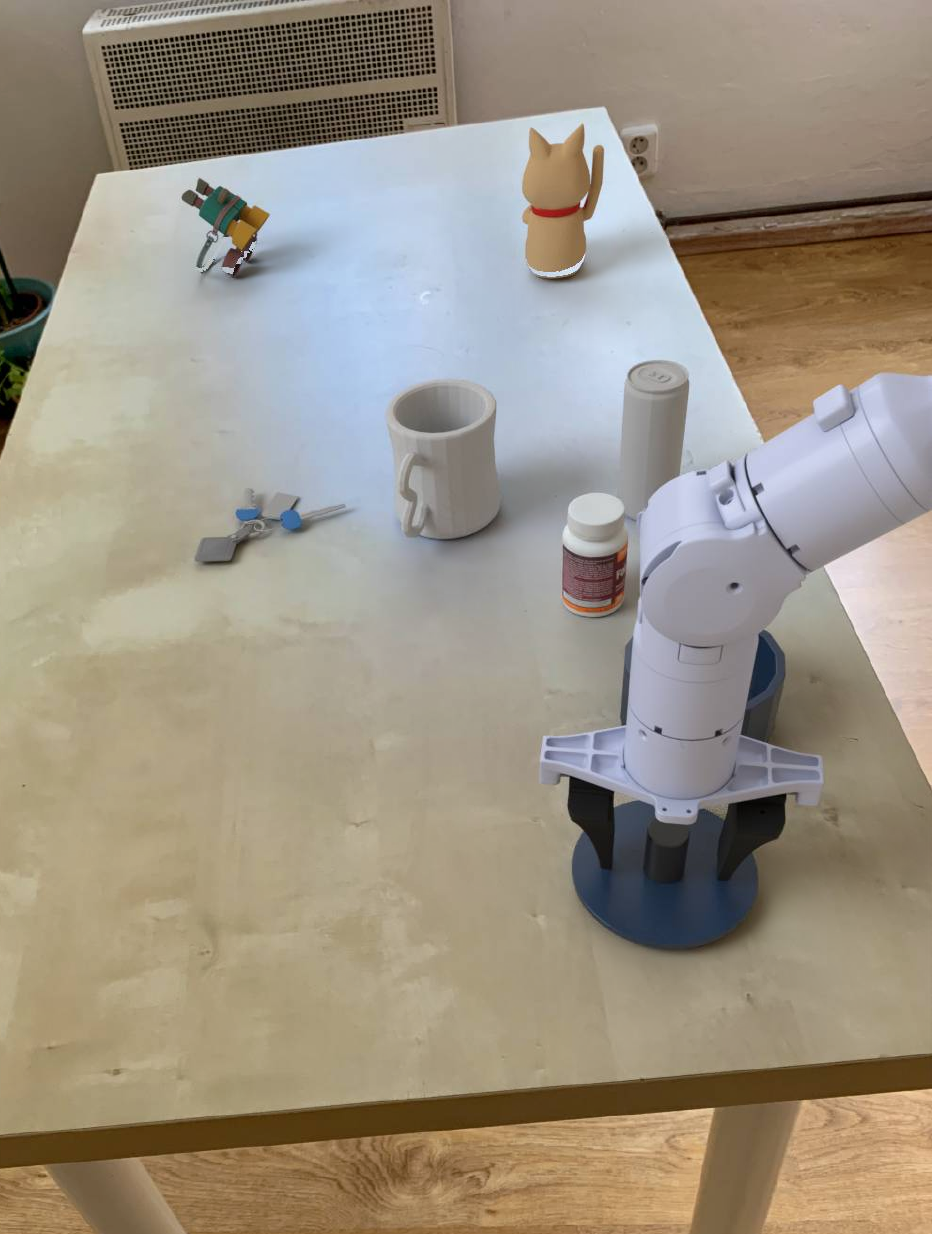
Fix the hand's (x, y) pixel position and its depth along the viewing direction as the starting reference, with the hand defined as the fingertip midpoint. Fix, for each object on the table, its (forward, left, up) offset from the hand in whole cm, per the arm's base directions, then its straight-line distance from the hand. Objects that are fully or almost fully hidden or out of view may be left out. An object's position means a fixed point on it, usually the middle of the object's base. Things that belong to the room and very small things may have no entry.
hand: (664, 861), depth 65 cm
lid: (0, 0, -1) cm, 1 cm away
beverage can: (+28, -25, -2) cm, 38 cm away
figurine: (+68, -49, -2) cm, 84 cm away
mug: (+38, -11, -2) cm, 40 cm away
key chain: (+49, +1, -2) cm, 50 cm away
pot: (+8, -11, -2) cm, 14 cm away
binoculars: (+97, -23, -2) cm, 100 cm away
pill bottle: (+22, -14, -2) cm, 27 cm away
